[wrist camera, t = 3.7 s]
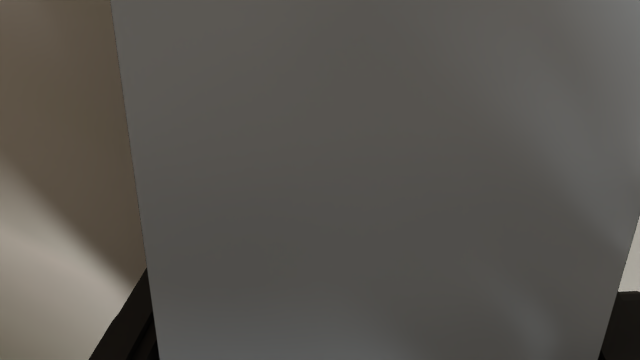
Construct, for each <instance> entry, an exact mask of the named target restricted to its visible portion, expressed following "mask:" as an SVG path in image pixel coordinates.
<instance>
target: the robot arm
mask: <svg viewBox="0 0 640 360" xmlns="http://www.w3.org/2000/svg"><path fill="white" fill-rule="evenodd" d="M89 360H160V357H159V350H158V343H157V336H156V328H155V321H154V314H153V307H152V299H151V292H150V285H149V278H148V270H147V268H146V270H145V272H144V273H143V275H142V276H141V278H140V280H139V281H138V283H137V285H136V286H135V288H134V289H133V291H132V293H131V294H130V296H129V298H128V299H127V301H126V302H125V304H124V306H123V307H122V309H121V311H120V312H119V314H118V315H117V316H116V317H115V319H114V320H113V321H112V323H111V324H110V326H109V328H108V329H107V331H106V332H105V334H104V336H103V337H102V339H101V340H100V342H99V344H98V345H97V347H96V349H95V350H94V352H93V353H92V355H91V357H90V358H89ZM598 360H640V292H638V291H629V292H617V295H616V298H615V302H614V305H613V309H612V312H611V316H610V319H609V323H608V326H607V329H606V333H605V336H604V340H603V343H602V347H601V350H600V353H599V357H598Z"/></svg>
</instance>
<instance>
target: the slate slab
mask: <svg viewBox="0 0 640 360" xmlns="http://www.w3.org/2000/svg"><path fill="white" fill-rule="evenodd" d="M110 3H111V10H112V17H113V24H114V32H115V39H116V46H117V53H118V61H119V68H120V75H121V82H122V89H123V97H124V104H125V111H126V118H127V126H128V133H129V140H130V147H131V155H132V162H133V169H134V176H135V184H136V191H137V198H138V205H139V213H140V220H141V227H142V234H143V242H144V249H145V256H146V263H147V270H148V278H149V285H150V292H151V299H152V307H153V314H154V321H155V328H156V336H157V343H158V350H159V357H160V360H598V357H599V353H600V350H601V347H602V343H603V340H604V336H605V333H606V329H607V326H608V323H609V319H610V316H611V312H612V309H613V305H614V302H615V298H616V295H617V292H618V288H619V285H620V281H621V278H622V274H623V271H624V268H625V264H626V261H627V257H628V254H629V250H630V247H631V243H632V240H633V237H634V233H635V230H636V226H637V223H638V219H639V216H640V0H110Z"/></svg>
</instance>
